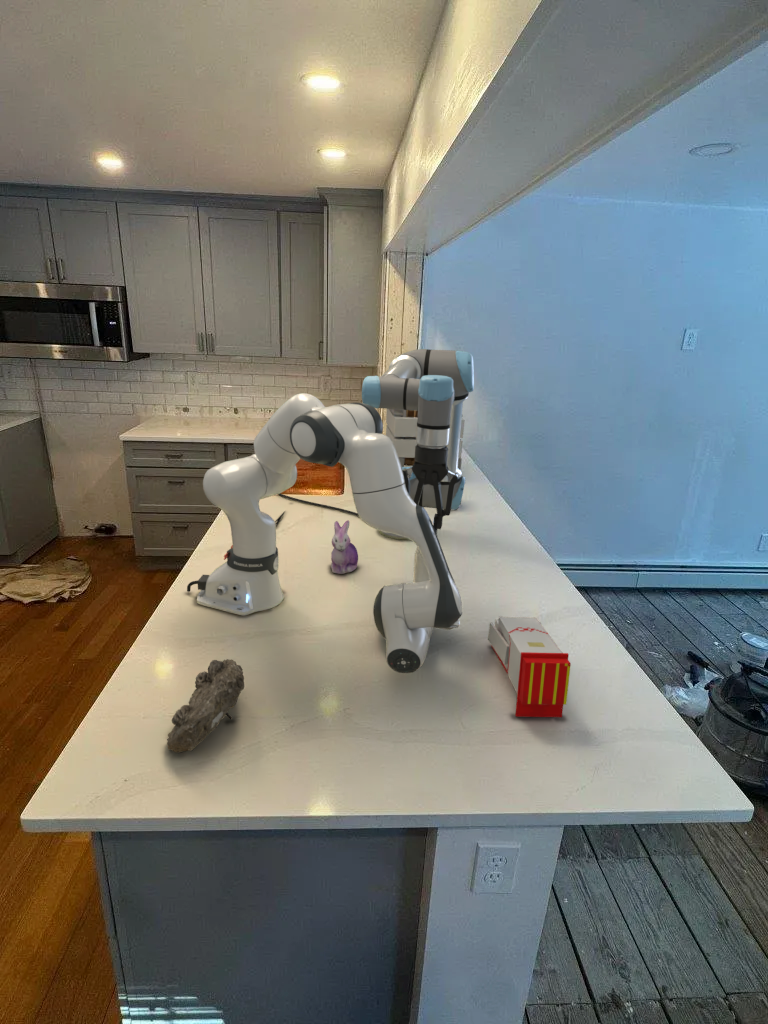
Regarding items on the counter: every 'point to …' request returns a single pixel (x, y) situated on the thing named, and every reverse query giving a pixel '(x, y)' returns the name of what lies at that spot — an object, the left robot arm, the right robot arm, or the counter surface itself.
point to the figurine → (343, 550)
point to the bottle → (420, 568)
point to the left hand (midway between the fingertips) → (421, 595)
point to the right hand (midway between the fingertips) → (425, 539)
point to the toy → (531, 665)
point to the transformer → (408, 434)
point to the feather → (279, 519)
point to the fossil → (206, 705)
